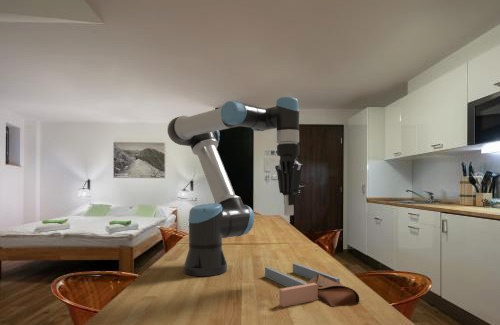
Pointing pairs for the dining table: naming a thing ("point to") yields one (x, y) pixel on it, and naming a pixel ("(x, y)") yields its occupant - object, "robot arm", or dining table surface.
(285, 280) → the channel
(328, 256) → the dining table surface
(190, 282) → the dining table surface
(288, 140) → the robot arm
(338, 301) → the sunglasses case
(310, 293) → the gate
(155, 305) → the dining table surface
